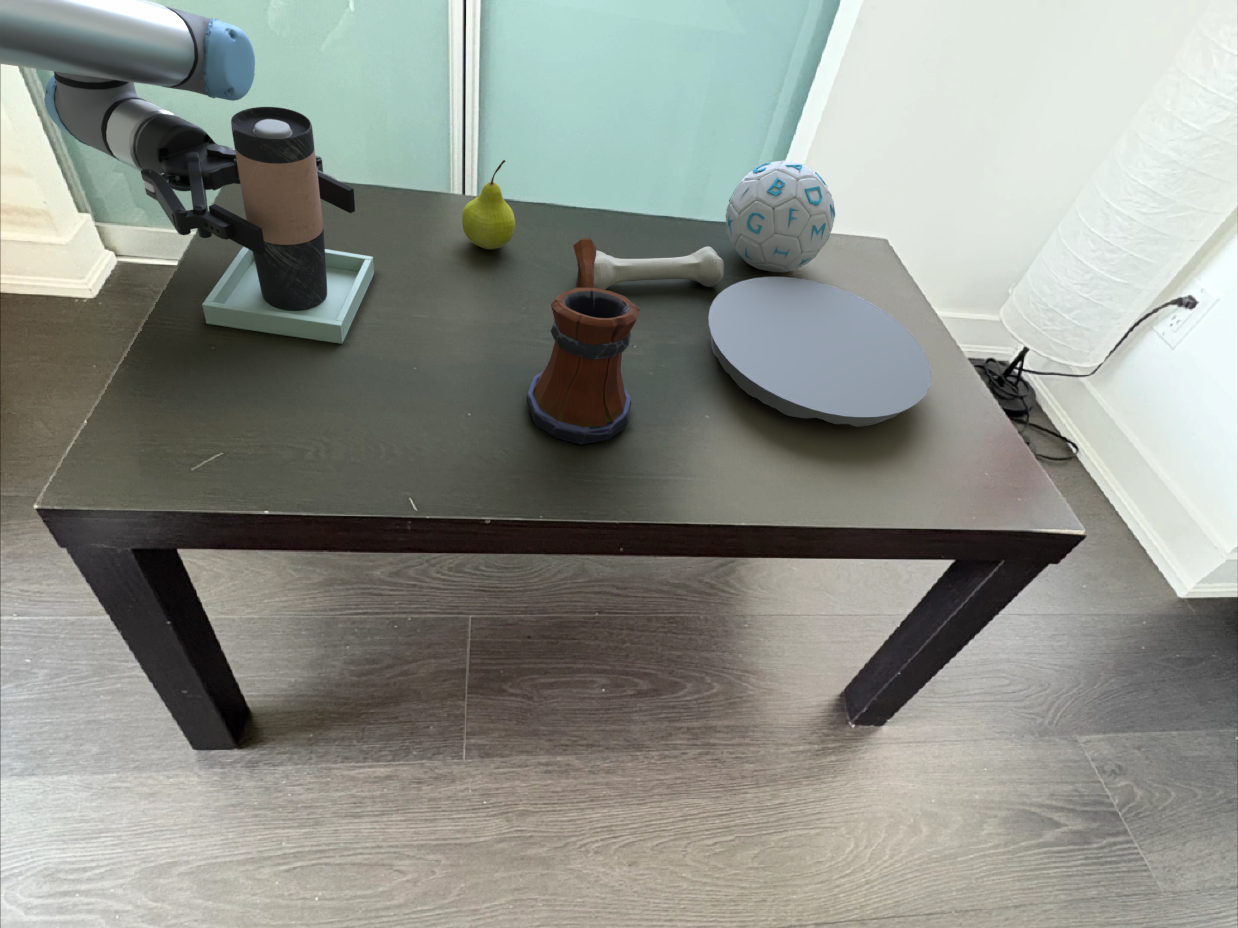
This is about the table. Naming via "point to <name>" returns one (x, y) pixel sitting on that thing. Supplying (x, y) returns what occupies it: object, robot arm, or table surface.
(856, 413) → the flat disc
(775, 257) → the puzzle ball
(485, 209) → the fruit
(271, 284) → the travel mug
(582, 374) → the mug
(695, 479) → the table surface
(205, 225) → the robot arm
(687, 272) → the dog toy
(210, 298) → the tray
